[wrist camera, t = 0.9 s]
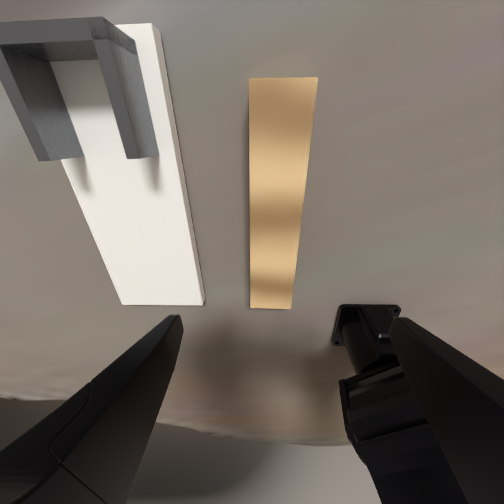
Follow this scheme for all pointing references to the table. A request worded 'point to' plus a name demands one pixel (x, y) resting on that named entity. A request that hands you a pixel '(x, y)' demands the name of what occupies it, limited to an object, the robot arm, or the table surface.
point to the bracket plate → (110, 145)
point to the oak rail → (277, 183)
